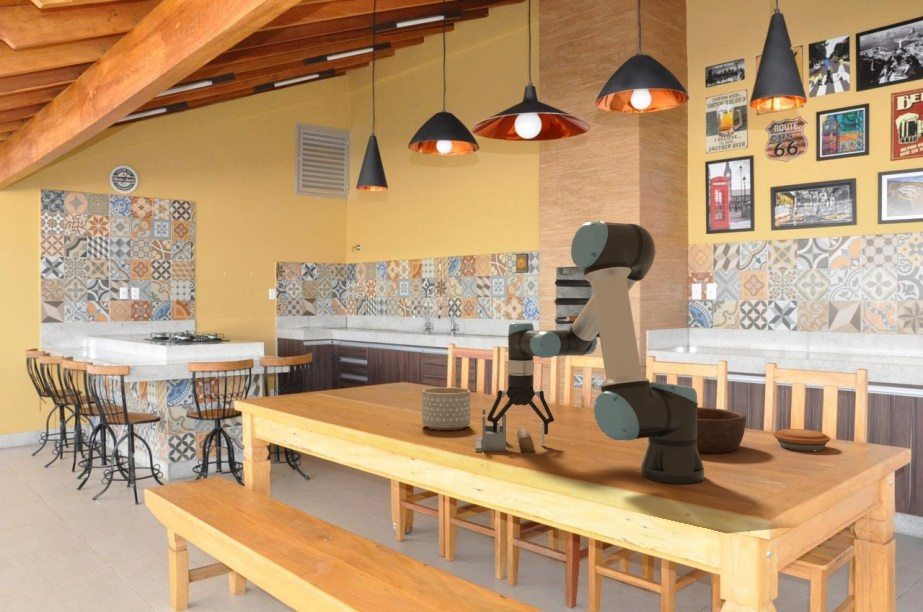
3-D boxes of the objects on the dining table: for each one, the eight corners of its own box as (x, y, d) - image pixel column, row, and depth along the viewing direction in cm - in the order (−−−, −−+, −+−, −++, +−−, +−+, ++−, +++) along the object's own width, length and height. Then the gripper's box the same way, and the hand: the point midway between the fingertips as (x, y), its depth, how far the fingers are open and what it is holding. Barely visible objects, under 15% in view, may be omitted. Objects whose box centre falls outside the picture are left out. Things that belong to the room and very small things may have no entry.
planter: (416, 430, 242) (416, 392, 241) (429, 422, 257) (430, 386, 257) (463, 432, 238) (464, 394, 237) (474, 424, 254) (474, 388, 253)
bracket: (506, 452, 207) (506, 417, 207) (475, 451, 208) (475, 417, 208) (504, 439, 226) (504, 407, 226) (476, 439, 227) (476, 407, 227)
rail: (527, 456, 207) (536, 446, 207) (517, 446, 207) (526, 436, 207) (523, 443, 226) (532, 433, 226) (514, 434, 226) (523, 425, 226)
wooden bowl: (688, 458, 201) (688, 421, 200) (642, 441, 225) (642, 408, 224) (764, 453, 207) (764, 418, 207) (712, 437, 231) (712, 405, 231)
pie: (800, 441, 226) (800, 425, 226) (842, 450, 211) (842, 433, 211) (761, 444, 220) (761, 428, 220) (802, 454, 206) (802, 437, 206)
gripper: (560, 372, 220) (560, 442, 220) (479, 372, 221) (479, 441, 221) (563, 375, 212) (562, 447, 213) (479, 375, 213) (479, 447, 214)
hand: (520, 445), depth 217 cm, fingers open, 13 cm apart
